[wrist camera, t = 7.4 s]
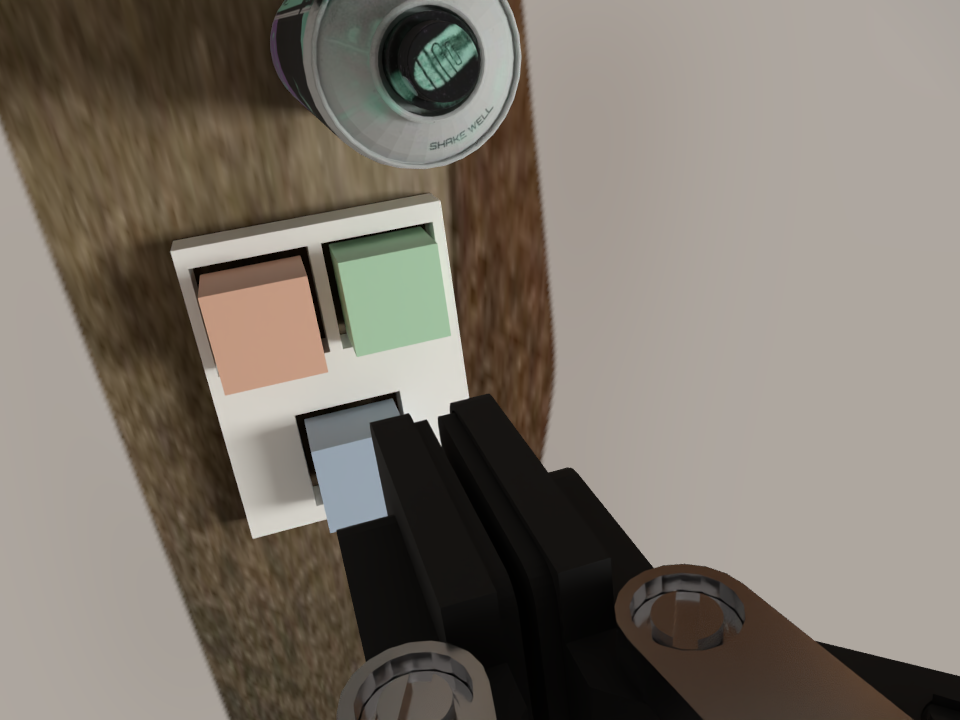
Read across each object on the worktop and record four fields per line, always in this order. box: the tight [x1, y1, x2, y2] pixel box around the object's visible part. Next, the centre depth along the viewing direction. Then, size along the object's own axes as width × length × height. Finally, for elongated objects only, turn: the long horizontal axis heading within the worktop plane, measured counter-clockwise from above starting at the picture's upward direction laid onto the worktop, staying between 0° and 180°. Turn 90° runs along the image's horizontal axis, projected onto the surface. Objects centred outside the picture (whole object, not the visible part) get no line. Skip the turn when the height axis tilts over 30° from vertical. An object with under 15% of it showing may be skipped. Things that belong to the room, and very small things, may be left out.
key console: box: [170, 193, 469, 539], centre depth 40 cm, size 15×12×2 cm
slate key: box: [304, 398, 400, 533], centre depth 39 cm, size 4×4×4 cm
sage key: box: [328, 227, 451, 357], centre depth 38 cm, size 4×4×4 cm
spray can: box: [270, 0, 521, 169], centre depth 27 cm, size 6×6×20 cm
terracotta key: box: [198, 255, 328, 396], centre depth 36 cm, size 4×4×4 cm
